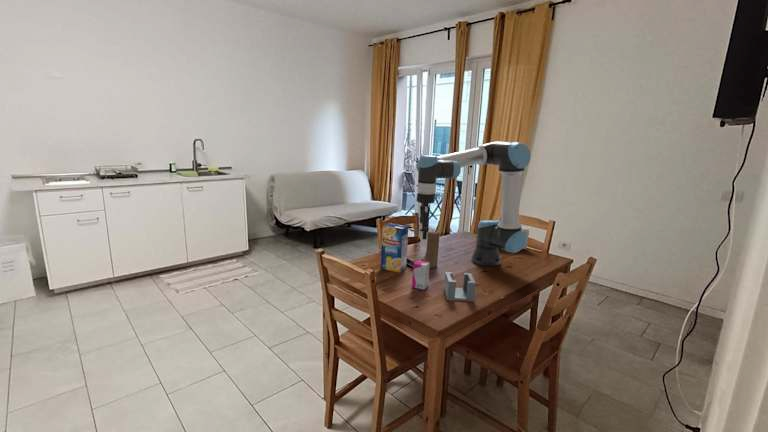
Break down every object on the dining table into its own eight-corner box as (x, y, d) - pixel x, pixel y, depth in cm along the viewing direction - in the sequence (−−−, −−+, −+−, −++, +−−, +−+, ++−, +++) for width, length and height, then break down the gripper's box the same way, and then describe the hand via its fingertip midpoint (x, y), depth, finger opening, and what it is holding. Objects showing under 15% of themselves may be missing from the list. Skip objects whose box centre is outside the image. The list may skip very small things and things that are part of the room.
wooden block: (426, 270, 184) (429, 235, 180) (419, 267, 187) (421, 233, 183) (437, 266, 190) (440, 232, 187) (430, 263, 193) (432, 230, 190)
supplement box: (428, 286, 164) (430, 261, 162) (424, 291, 159) (425, 265, 156) (416, 283, 166) (417, 259, 164) (411, 288, 161) (413, 263, 159)
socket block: (469, 290, 161) (470, 273, 160) (474, 301, 151) (476, 283, 149) (443, 289, 162) (445, 271, 160) (447, 299, 151) (448, 281, 149)
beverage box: (400, 272, 179) (402, 228, 174) (380, 268, 184) (382, 225, 179) (406, 268, 185) (408, 226, 180) (386, 264, 190) (388, 222, 185)
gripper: (415, 188, 166) (412, 233, 171) (418, 197, 142) (415, 249, 146) (432, 189, 166) (429, 234, 170) (438, 198, 142) (434, 250, 146)
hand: (422, 241), depth 158 cm, fingers open, 13 cm apart
